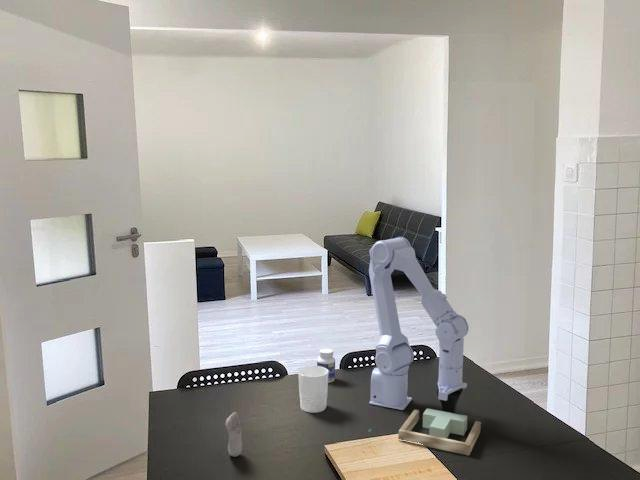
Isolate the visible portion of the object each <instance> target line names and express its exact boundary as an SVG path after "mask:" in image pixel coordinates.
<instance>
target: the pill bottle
mask: <svg viewBox="0 0 640 480" xmlns="http://www.w3.org/2000/svg"><path fill="white" fill-rule="evenodd" d="M318 352H319V354H318V355H319V356H318V357H317V360H316V364H317V365H316V366H320V367H324V368H326V369H328V371H329V373H328V384H330V383H333V382H335V380H336V359H335V357H333V356H334V350H333V349H331V348H321V349H320V350H318Z"/></svg>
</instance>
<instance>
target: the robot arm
mask: <svg viewBox="0 0 640 480" xmlns="http://www.w3.org/2000/svg"><path fill="white" fill-rule="evenodd" d="M368 251H369V257H370V260H369V266H368V274H369V281H370V285H371V292H372V295H373V301H374V307H375V312H376V318H377V324H378V329H379V334H380V337H379V339H378V340H377V342H376V344H375V352H376V354H375V358H374V362H375V364H376V367H374V368H373V369H372V373H371V377H370V399H369V400H370V401H369V405H374V406H378V407H384V408H389V409H390V408H391V409H395V410H400V411H403V410H405V409H406V408H407V406H408V405H409V404H410V403H411V401H412V400H413V397H410V396H408V387H409V385H408V380H409V379H408V378H409V376H408V375H409V368H410V364H412V362H413V361H414V356H415V355H414V351H413V348H412V347H411V345H410V343H409V338H408V337H407V336H406V335H405V334H403V332H402V331H401V325H400V319H399V314H398V309H397V301H396V297H395V292H394V287H393V286H394V285H393V281H392V273H393V272H394V271H395V270H396V271H401V272H403V273H404V274H405V276H406V277H407V278H408V280H409V281H410V282H411V284H412V285H413V286H414V288H416V290H417V291H418V293H419V295H421V305H422V306H423V308H424V310H425V312H426V313H427V315H428V316H429V317H430V319H431V320H432V322H433V323H434V325H435V326H436V328H435V335H436V338H437V340H438V342H439V343H438V346H439V354H438V356H439V357H438V359H439V360H438V361H439V362H438V380H437V386H438V387H437V390H436V396H437V397H438V400H439V401H440V405H441V408H442V411H444V412H449V413H455V414H456V409H457V405H458V402H459V399H460V397H461V394H462V393H463V391H464V389H466V388H467V386H468V383H467V382H463V368H464V365H463V364H464V343H465V338H464V337H466V335H468V332H469V323H468V322H467V319H466V318H465V317H464V316H463V315H461V314H458V313H457V312H456V311H455V310H454V308H453V307H452V305H451V304H450V302H449V301H448V300H447V298H448V296H447V295H446V294H445V293H443V292H442V291H441V290H439V289H435V288H434V286H433V284H432V283H431V281H430V280H429V278H428V277H427V275H426V273H425V272H424V270H423V268H422V266H421V264H420V263H419V261H418V258H417V257H416V251H415V248H413V247H412V246H411V243H410V241H409V240H408V239H407V238H405V237H403V236H397V237H395V238H389V239H383V240H377V241H376V242H374V244H373V246H371V248H370V249H369V250H368Z"/></svg>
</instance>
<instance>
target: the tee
mask: <svg viewBox="0 0 640 480" xmlns="http://www.w3.org/2000/svg"><path fill="white" fill-rule="evenodd" d="M422 428H424V429H429V434H428V435H431V436H436V437H441V438H446V439H449V436H450V434H453V435H454V434H455V435H460V436H465V433H466V432H467V430H468V415H465V414H459V413H456V412H455V413H449V412H444V411H443V410H438V409H433V408H426V409H425V410H424V412H423V413H422Z"/></svg>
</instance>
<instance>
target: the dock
mask: <svg viewBox="0 0 640 480" xmlns="http://www.w3.org/2000/svg"><path fill="white" fill-rule="evenodd" d="M419 420H420V409H413V411H412V412H411V413H410V415H409V416H408V418H407V419H406V420H405V422H403V424H402V425H401V427H400V429H398V435H397V436H398V439H401V440H406V441H411V442H417V443H418V442H419V443H421V444H423V445H424V446H423V447H426V448H432V449H435V450H436V449H437V450H440V451H446V452H452V453H455V454H460V455H464V456H465V455H466V456H470V455H471V452H472V451H473V449H474V446H475V444H476V442H477V440H478V437H479V435H480V433H481V428H482V425H481V424H482V422H481V421H478V420H475V422H474V424H473V425H472V428H471V430H470V432H469V433H468V436H467V438H466V440H465V441H460V440H456V439H451V438H447V439H446V438H441V437H436V436H431V435H429V434H428V433H427V434H426V433H422V432H416V431H412V430H413V428H414V427H415V425H416V424H417V423H418V422H419ZM398 439H397V440H398Z"/></svg>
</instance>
